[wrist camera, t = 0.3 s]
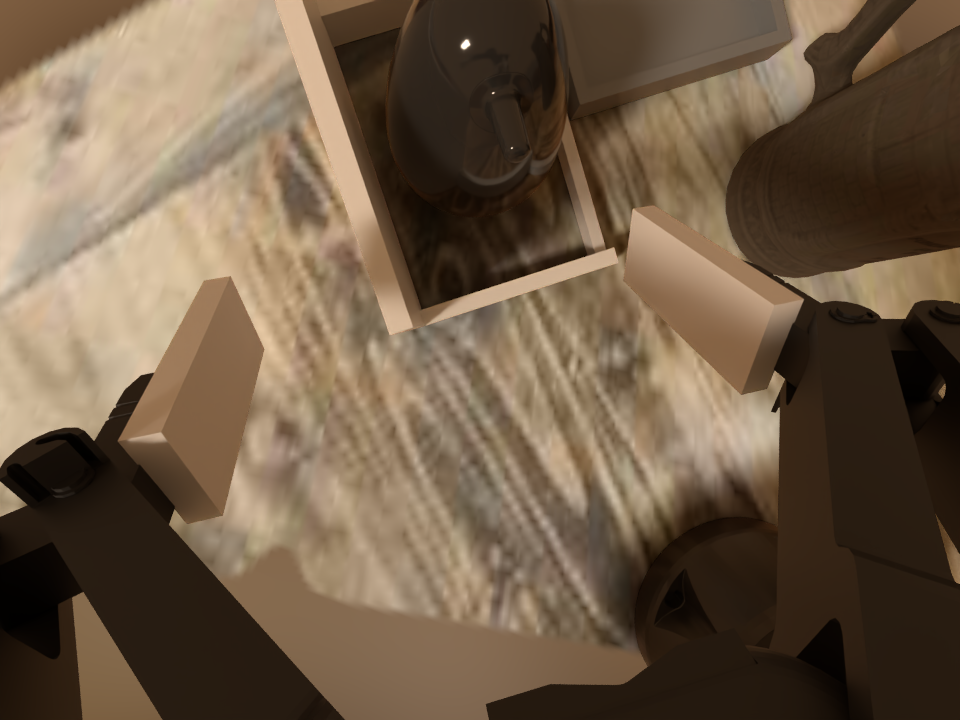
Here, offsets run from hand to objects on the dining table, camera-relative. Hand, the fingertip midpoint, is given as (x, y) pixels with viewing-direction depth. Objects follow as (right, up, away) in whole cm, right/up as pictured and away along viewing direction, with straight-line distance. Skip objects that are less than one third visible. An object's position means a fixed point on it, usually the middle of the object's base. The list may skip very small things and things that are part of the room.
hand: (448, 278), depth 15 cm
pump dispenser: (0, +11, +16) cm, 19 cm away
